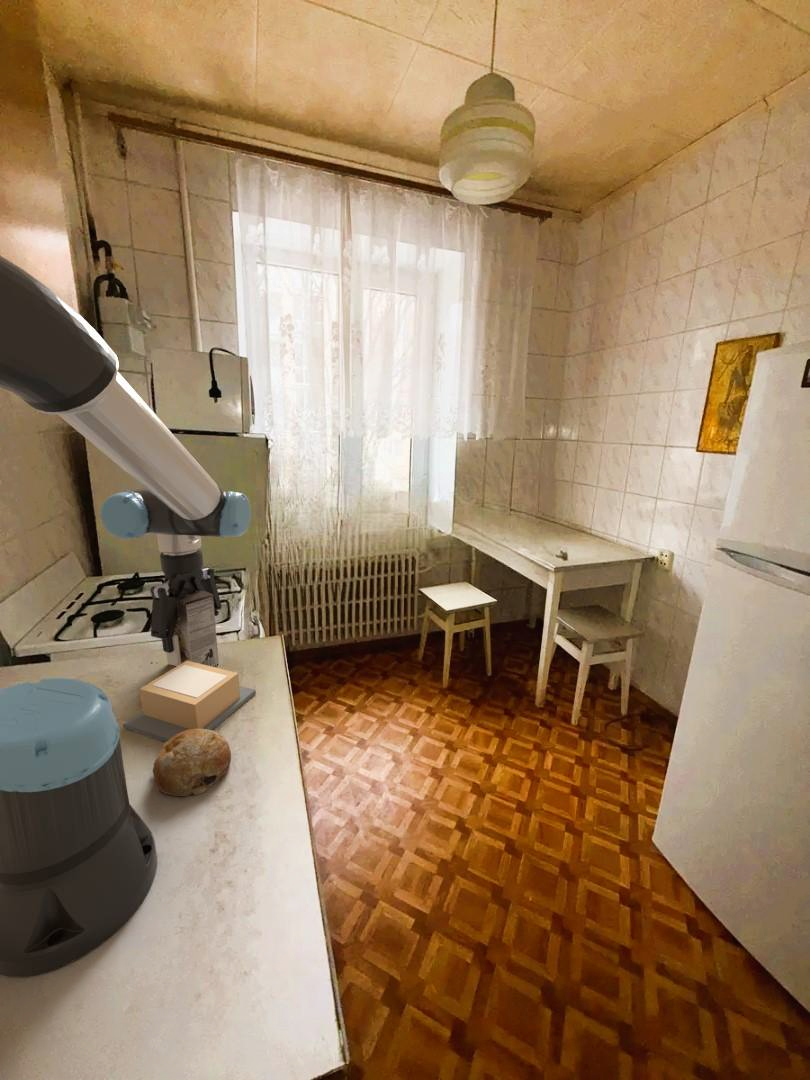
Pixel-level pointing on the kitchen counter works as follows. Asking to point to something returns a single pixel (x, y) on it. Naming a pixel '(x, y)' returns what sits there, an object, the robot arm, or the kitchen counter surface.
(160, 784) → the bread roll
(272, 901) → the kitchen counter surface
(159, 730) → the base
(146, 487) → the robot arm
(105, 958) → the kitchen counter surface
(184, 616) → the coffee box
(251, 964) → the kitchen counter surface
